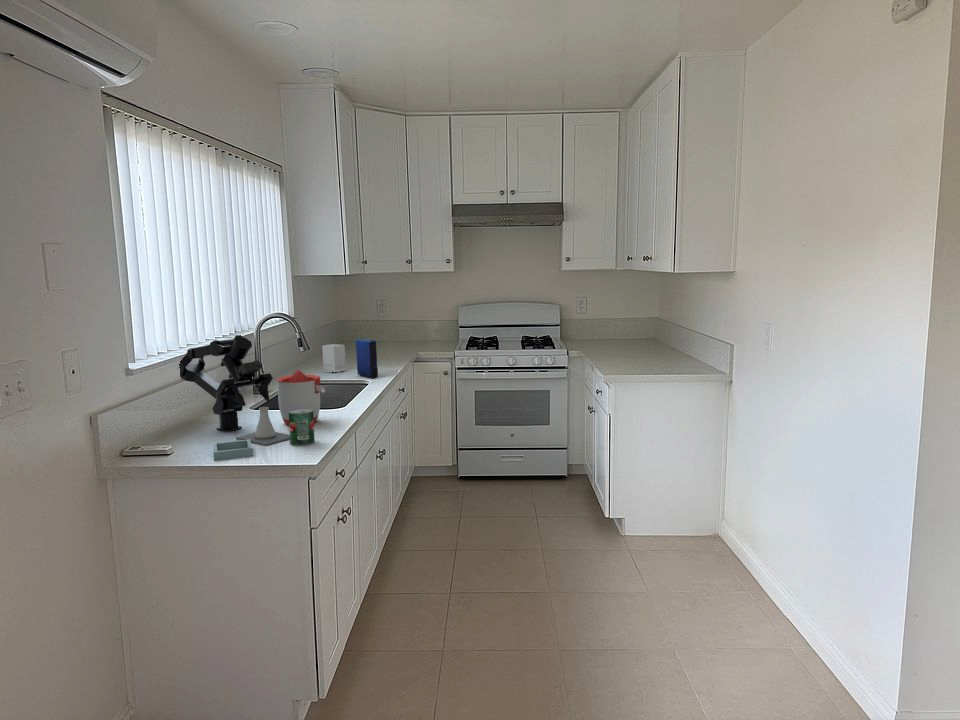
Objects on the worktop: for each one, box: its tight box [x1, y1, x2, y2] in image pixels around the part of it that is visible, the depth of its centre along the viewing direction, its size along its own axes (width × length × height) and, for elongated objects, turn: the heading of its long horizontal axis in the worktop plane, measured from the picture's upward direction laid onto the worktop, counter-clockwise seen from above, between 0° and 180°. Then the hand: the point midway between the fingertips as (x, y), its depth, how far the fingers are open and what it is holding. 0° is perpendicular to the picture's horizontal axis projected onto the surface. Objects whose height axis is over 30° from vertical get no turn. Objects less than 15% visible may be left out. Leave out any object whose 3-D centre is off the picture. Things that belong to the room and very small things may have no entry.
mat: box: [235, 431, 290, 447], centre depth 219 cm, size 16×12×1 cm
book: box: [355, 338, 379, 379], centre depth 337 cm, size 14×5×20 cm, turn 43°
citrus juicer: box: [276, 369, 326, 426], centre depth 239 cm, size 16×17×20 cm
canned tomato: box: [288, 408, 316, 447], centre depth 212 cm, size 8×8×11 cm
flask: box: [254, 406, 277, 439], centre depth 218 cm, size 7×7×10 cm
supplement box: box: [321, 343, 347, 374], centre depth 356 cm, size 9×9×15 cm
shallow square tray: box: [212, 439, 254, 461], centre depth 201 cm, size 11×11×2 cm
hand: (256, 402), depth 220 cm, fingers open, 9 cm apart
